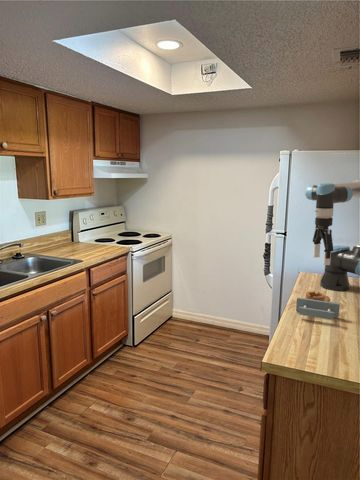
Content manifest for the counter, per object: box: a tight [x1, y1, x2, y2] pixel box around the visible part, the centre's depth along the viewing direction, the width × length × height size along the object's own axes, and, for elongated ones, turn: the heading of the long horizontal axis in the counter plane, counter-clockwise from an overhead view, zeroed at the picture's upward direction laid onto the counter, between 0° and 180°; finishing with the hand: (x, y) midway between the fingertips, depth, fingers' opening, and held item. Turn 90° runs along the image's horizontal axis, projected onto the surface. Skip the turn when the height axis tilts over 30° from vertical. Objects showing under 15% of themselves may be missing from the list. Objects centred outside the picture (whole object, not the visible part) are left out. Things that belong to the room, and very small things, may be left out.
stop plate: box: [295, 297, 341, 321], centre depth 159 cm, size 9×18×6 cm, turn 65°
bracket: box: [305, 291, 331, 302], centre depth 174 cm, size 18×8×7 cm, turn 143°
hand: (321, 261), depth 172 cm, fingers open, 13 cm apart
